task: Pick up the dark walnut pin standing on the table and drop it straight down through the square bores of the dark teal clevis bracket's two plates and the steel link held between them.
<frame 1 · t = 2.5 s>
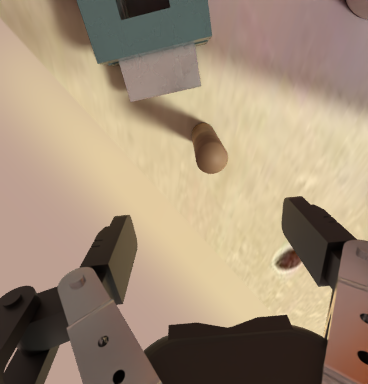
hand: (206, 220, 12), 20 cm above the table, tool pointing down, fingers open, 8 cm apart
clevis: (146, 0, 24), on the table
pin: (203, 134, 30), on the table
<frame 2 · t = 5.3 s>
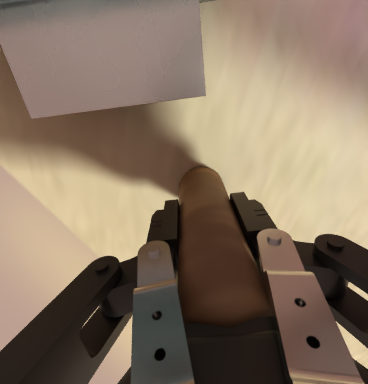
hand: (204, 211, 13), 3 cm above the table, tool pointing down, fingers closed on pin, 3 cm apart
pin: (200, 187, 15), on the table, touching gripper
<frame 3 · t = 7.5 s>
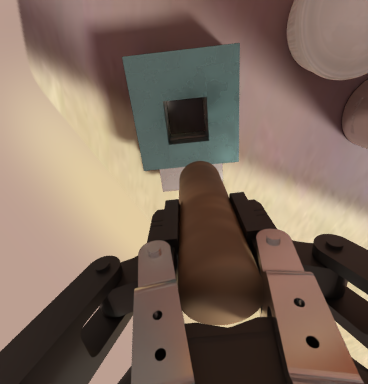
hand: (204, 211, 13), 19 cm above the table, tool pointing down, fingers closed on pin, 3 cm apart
ramekin: (327, 22, 25), on the table
clevis: (186, 114, 29), on the table
pin: (199, 180, 17), point 15 cm above the table, touching gripper
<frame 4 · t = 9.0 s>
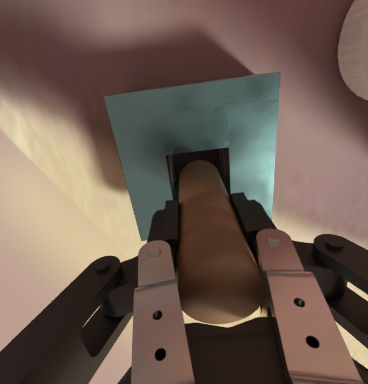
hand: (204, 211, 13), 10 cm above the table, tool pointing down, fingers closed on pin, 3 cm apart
clevis: (195, 157, 22), on the table
pin: (199, 179, 17), point 6 cm above the table, touching gripper
when the fingers open (7 cm above the table, at t = 9.9 s): pin drops 3 cm, resting in clevis.
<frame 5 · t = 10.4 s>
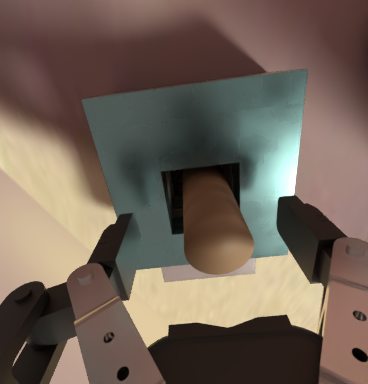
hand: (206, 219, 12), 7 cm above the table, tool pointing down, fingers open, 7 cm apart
clevis: (197, 169, 19), on the table
pin: (200, 168, 19), resting in clevis
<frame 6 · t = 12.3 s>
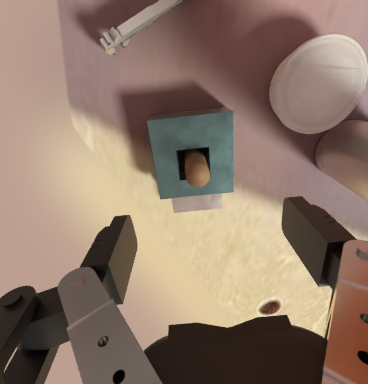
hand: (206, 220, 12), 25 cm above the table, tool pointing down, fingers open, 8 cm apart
ramekin: (300, 86, 32), on the table
caliper: (176, 4, 28), on the table
clevis: (192, 152, 36), on the table
pin: (193, 152, 36), resting in clevis
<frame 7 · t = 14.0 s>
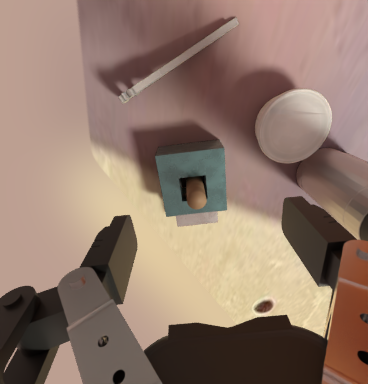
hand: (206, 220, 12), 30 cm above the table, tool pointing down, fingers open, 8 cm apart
ramekin: (281, 122, 39), on the table
caliper: (177, 62, 35), on the table
clevis: (192, 176, 43), on the table
pin: (193, 175, 43), resting in clevis
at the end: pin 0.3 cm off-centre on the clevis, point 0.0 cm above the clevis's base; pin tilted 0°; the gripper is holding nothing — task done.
